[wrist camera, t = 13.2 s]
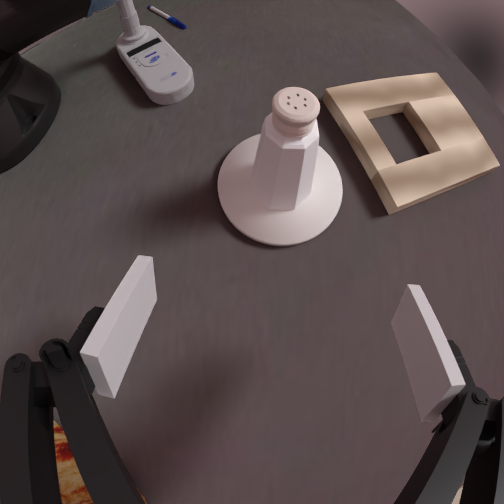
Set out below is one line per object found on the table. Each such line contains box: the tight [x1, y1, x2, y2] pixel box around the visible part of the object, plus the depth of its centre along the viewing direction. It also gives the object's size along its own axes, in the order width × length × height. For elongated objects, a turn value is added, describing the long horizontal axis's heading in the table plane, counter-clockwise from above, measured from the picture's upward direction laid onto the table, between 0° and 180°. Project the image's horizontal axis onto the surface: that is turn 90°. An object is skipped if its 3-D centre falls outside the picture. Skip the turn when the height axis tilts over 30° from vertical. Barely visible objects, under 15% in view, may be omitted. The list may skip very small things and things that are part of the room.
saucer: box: [218, 134, 342, 247], centre depth 28 cm, size 11×11×1 cm
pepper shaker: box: [252, 87, 320, 210], centre depth 22 cm, size 5×5×11 cm
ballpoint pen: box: [148, 6, 186, 29], centre depth 35 cm, size 10×1×1 cm, turn 42°
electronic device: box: [115, 0, 194, 105], centre depth 28 cm, size 5×10×15 cm
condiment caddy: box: [322, 73, 500, 215], centre depth 29 cm, size 14×17×2 cm
